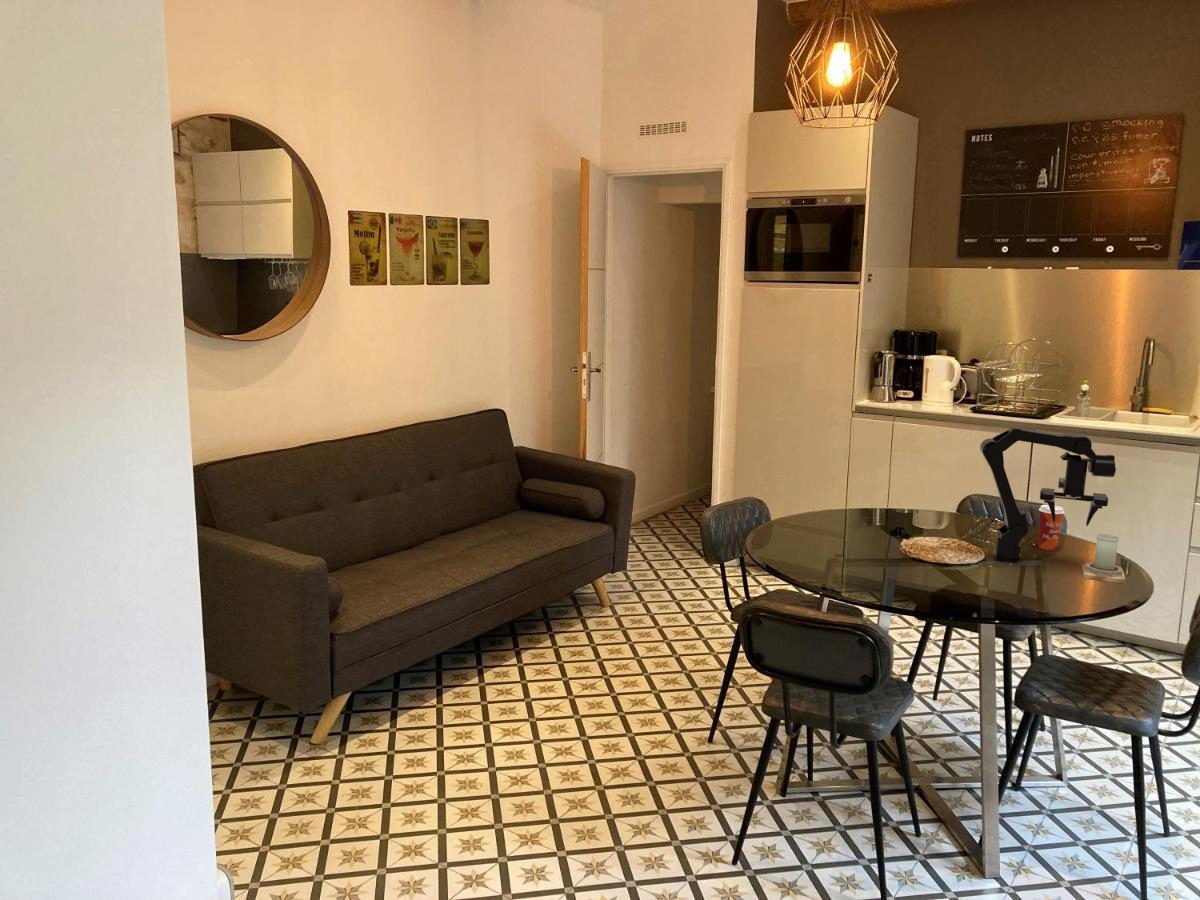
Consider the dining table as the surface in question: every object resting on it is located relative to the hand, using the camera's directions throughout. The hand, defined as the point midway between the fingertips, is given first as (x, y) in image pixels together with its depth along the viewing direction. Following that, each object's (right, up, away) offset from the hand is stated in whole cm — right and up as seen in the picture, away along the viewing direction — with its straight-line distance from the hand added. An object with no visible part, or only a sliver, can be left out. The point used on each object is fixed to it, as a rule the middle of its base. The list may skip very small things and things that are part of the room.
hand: (1070, 523), depth 293 cm
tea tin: (+5, -14, -9) cm, 17 cm away
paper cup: (+2, -10, +20) cm, 22 cm away
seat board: (+6, -15, -9) cm, 18 cm away
